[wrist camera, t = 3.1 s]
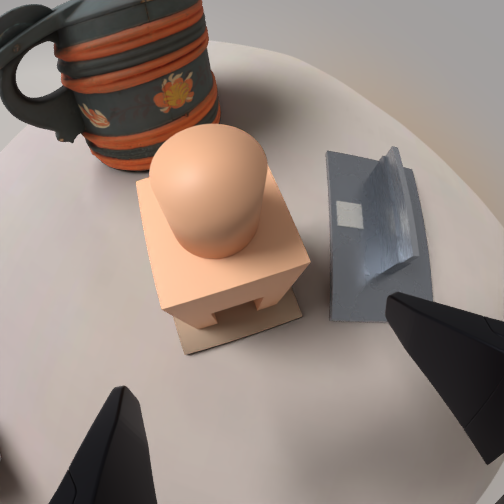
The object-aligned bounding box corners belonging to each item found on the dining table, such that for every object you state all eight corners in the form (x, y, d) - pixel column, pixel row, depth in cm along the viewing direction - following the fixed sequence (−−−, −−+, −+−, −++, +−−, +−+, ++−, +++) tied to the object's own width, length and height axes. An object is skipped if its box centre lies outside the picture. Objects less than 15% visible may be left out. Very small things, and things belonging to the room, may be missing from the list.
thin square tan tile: (301, 317, 20) (302, 316, 20) (186, 354, 19) (184, 354, 19) (261, 213, 23) (261, 211, 23) (156, 245, 22) (154, 242, 21)
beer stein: (101, 236, 22) (-42, 53, 3) (48, 159, 25) (-30, 34, 6) (248, 117, 27) (261, -64, 9) (168, 72, 30) (149, -58, 11)
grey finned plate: (429, 321, 21) (466, 312, 16) (329, 320, 20) (355, 311, 16) (409, 172, 26) (432, 144, 21) (325, 154, 26) (340, 118, 21)
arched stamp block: (276, 304, 20) (340, 223, 8) (198, 329, 19) (127, 289, 7) (249, 232, 22) (265, 90, 9) (176, 254, 21) (110, 130, 8)
